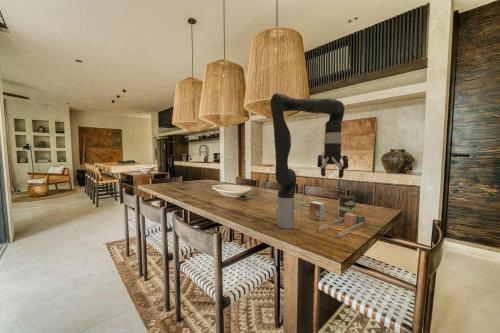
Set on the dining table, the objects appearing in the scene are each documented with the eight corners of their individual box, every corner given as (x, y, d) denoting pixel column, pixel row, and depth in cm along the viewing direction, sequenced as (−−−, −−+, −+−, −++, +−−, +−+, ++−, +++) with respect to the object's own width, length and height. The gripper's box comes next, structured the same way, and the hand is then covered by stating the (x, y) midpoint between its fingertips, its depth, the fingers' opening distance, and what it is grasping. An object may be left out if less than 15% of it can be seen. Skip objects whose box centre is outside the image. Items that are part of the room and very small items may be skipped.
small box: (309, 218, 138) (309, 202, 137) (313, 216, 141) (314, 200, 141) (320, 221, 132) (320, 204, 131) (324, 219, 135) (325, 203, 135)
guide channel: (317, 231, 114) (318, 221, 114) (344, 220, 133) (344, 212, 133) (339, 237, 105) (339, 228, 105) (364, 225, 124) (364, 216, 124)
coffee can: (358, 220, 134) (359, 198, 133) (342, 220, 133) (343, 198, 133) (350, 215, 144) (350, 194, 143) (335, 215, 144) (335, 194, 143)
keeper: (344, 224, 126) (344, 214, 126) (348, 222, 129) (348, 212, 129) (352, 226, 122) (353, 216, 122) (356, 224, 125) (357, 214, 125)
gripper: (315, 143, 102) (314, 176, 103) (344, 142, 92) (342, 179, 93) (323, 143, 107) (322, 175, 108) (351, 142, 96) (350, 177, 98)
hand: (331, 177), depth 100 cm, fingers open, 8 cm apart
